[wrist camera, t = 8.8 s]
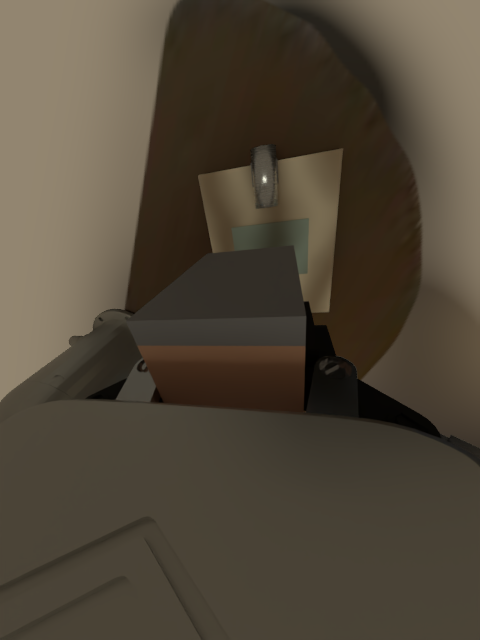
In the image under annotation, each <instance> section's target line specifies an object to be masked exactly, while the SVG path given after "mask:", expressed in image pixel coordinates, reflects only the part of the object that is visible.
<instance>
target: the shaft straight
mask: <svg viewBox="0 0 480 640" xmlns="http://www.w3.org/2000/svg"><path fill="white" fill-rule="evenodd" d="M250 151H251V163H252V174H253V186H254V198H255V209H259V208H267V207H274V206H278V190H277V167H276V145H273V144H271V145H263V146H258V147H255V148H252V149H251V150H250Z"/></svg>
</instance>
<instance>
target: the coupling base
mask: <svg viewBox="0 0 480 640" xmlns="http://www.w3.org/2000/svg"><path fill="white" fill-rule="evenodd" d="M342 154H343V148H342V149H337V150H331V151H326V152H321V153H315V154H310V155H304V156H299V157H294V158H288V159H283V160H278V159H277V158H276V167H277V190H278V206H274V207H267V208H259V209H255V198H254V186H253V174H252V163H251V165H250V166H245V167H240V168H234V169H229V170H223V171H218V172H213V173H207V174H202V175H198V178H199V184H200V189H201V194H202V199H203V204H204V210H205V215H206V220H207V225H208V230H209V236H210V241H211V246H212V251H213V253H219V252H230V251H240V250H250V249H261V248H271V247H281V246H291V245H294V250H295V255H296V261H297V267H298V272H299V278H300V284H301V289H302V295H303V301H309V304H310V309H311V313H313V312H329V305H330V294H331V282H332V270H333V259H334V247H335V235H336V224H337V212H338V200H339V189H340V177H341V166H342Z"/></svg>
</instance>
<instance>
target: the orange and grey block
mask: <svg viewBox="0 0 480 640" xmlns="http://www.w3.org/2000/svg"><path fill="white" fill-rule="evenodd" d="M126 323H127V325H128V327H129V329H130V331H131V333H132V335H133V338H134V340H135V342H136V344H137V346H138V348H139V351H140V353H141V355H142V357H143V359H144V361H145V363H146V366H147V368H148V370H149V372H150V374H151V376H152V379H153V381H154V383H155V385H156V387H157V389H158V391H159V394H160V396H161V398H162V400H163V402H164V403H176V404H191V405H206V406H221V407H236V408H250V409H264V410H277V411H291V412H304V381H305V344H306V312H305V306H304V301H303V295H302V289H301V284H300V278H299V272H298V267H297V261H296V255H295V250H294V245H291V246H281V247H271V248H261V249H250V250H240V251H230V252H219V253H209V254H206V255H205V256H204V257H203V258H201V259H200V260H199V261H198V262H197V263H195V264H194V265H193V266H192V267H191V268H189V269H188V270H187V271H186V272H185V273H183V274H182V275H181V276H180V277H179V278H177V279H176V280H175V281H174V282H172V283H171V284H170V285H169V286H168V287H166V288H165V289H164V290H163V291H162V292H160V293H159V294H158V295H157V296H156V297H154V298H153V299H152V300H151V301H149V302H148V303H147V304H146V305H145V306H143V307H142V308H141V309H140V310H139V311H137V312H136V313H135V314H134V315H133V316H131V317H130V318H129V319H128V320H126Z"/></svg>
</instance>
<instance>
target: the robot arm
mask: <svg viewBox="0 0 480 640" xmlns="http://www.w3.org/2000/svg"><path fill="white" fill-rule="evenodd" d="M304 306H305V312H306V344H305V381H304V410H305V411H306V413H304V412H291V411H277V410H264V409H250V408H236V407H221V406H206V405H191V404H176V403H164V402H163V400H162V398H161V396H160V394H159V391H158V389H157V387H156V385H155V383H154V381H153V379H152V376H151V374H150V372H149V370H148V368H147V366H146V363H145V361H144V359H143V357H142V355H141V353H140V351H139V348H138V346H137V344H136V342H135V340H134V338H133V335H132V333H131V331H130V329H129V327H128V325H127V323H126V320H128V319H129V318H130V317H131V316H133V315H134V314H133V313H130V312H128V311H125V310H121V309H110V310H106V311H104V312H102V313H101V314H99V315H98V316H97V317H96V318H95V321H94V324H93V331H92V332H91V333H89V334H87V335H85V336H72V337H71V338H70V339H69V344H70V345H71V347H70V348H69V349H67V350H66V351H65V352H63V353H62V354H61V355H59V356H58V357H57V358H55V359H54V360H53V361H51V362H50V363H48V364H47V365H46V366H44V367H43V368H42V369H40V370H39V371H38V372H36V373H35V374H33V375H32V376H31V377H29V378H28V379H27V380H25V381H24V382H23V383H21V384H20V385H19V386H17V387H16V388H15V389H13V390H12V391H11V392H10V393H8V394H7V395H6V396H5V397H4V398H3V399H2V400H1V402H0V640H480V448H478V447H476V446H474V445H472V444H470V443H467V442H465V441H463V440H461V439H459V438H457V437H455V436H453V435H450V438H448V437H446V436H444V435H442V434H440V433H439V432H438V430H437V429H436V427H435V426H434V425H433V424H432V423H431V422H430V421H429V420H428V419H427V418H425V417H423V416H422V415H420V414H419V413H417V412H415V411H414V410H412V409H410V408H408V407H407V406H405V405H403V404H401V403H400V402H398V401H396V400H394V399H392V398H391V397H389V396H387V395H385V394H383V393H382V392H380V391H378V390H376V389H375V388H373V387H371V386H369V385H368V384H366V383H364V382H362V381H361V380H359V379H357V370H356V367H355V366H354V364H353V363H351V362H350V361H349V360H347V359H345V358H343V357H339V356H336V354H335V351H334V348H333V345H332V342H331V338H330V335H329V332H328V329H327V326H326V325H314V322H313V318H312V313H311V309H310V304H309V301H304Z"/></svg>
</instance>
